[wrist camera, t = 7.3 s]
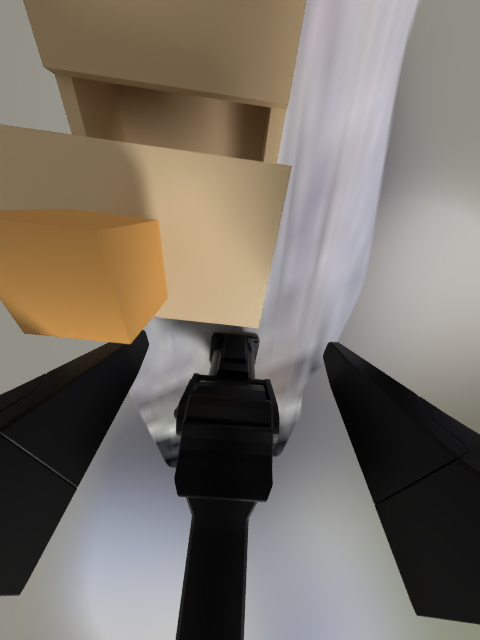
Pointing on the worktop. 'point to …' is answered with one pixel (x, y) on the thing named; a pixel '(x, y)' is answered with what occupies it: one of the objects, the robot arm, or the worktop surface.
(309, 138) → the worktop surface
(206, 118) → the carton
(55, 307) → the pull drawer
